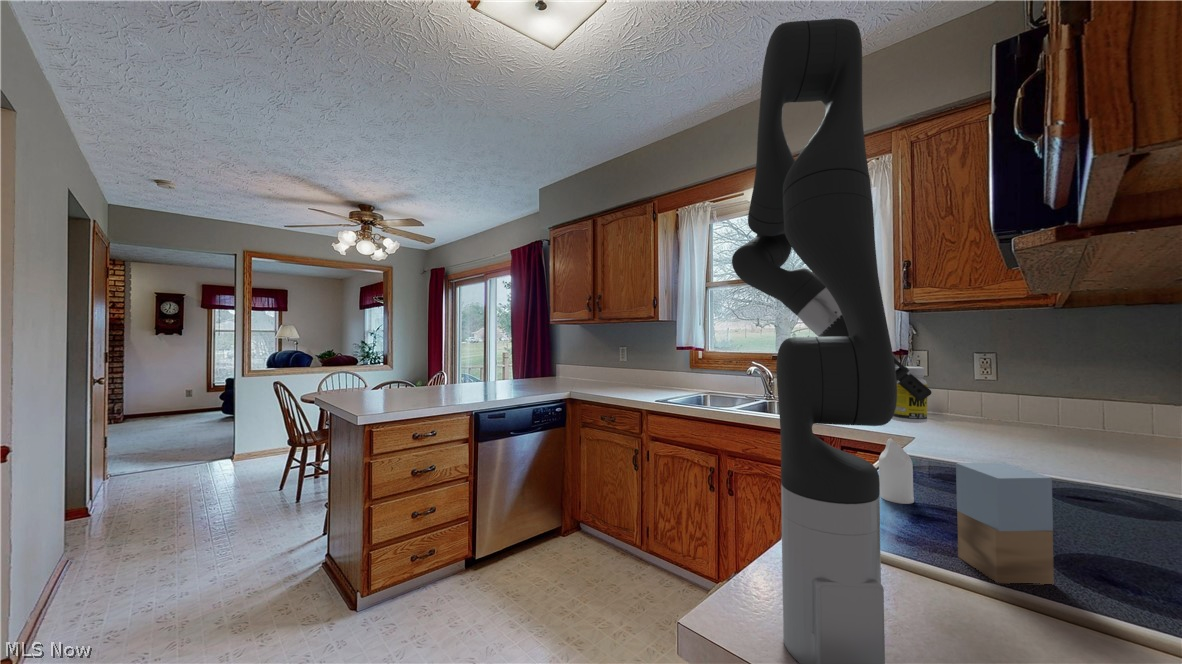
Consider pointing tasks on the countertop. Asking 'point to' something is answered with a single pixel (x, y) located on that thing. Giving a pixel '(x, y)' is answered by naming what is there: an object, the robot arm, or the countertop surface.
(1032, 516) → the slate block
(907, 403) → the supplement bottle
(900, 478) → the white bottle
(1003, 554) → the walnut block
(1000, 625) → the countertop surface
